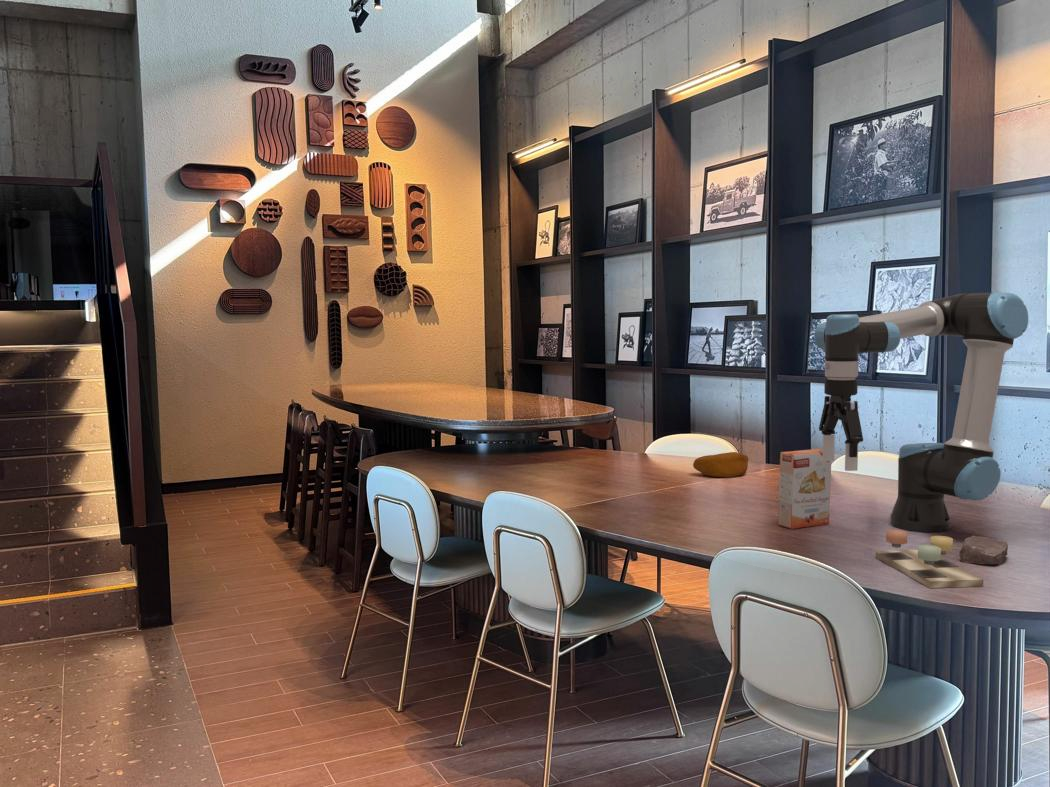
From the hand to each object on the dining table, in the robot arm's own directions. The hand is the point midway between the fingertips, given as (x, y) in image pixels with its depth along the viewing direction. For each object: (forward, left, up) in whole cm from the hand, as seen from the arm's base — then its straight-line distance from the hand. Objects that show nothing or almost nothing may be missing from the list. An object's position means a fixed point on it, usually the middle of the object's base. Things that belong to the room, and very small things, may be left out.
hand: (839, 465), depth 210 cm
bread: (-4, -105, -22) cm, 108 cm away
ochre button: (-17, +16, -18) cm, 30 cm away
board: (-14, +15, -22) cm, 30 cm away
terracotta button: (-10, +8, -18) cm, 23 cm away
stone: (-33, +8, -23) cm, 41 cm away
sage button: (-10, +23, -18) cm, 31 cm away
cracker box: (-4, -30, -22) cm, 37 cm away
